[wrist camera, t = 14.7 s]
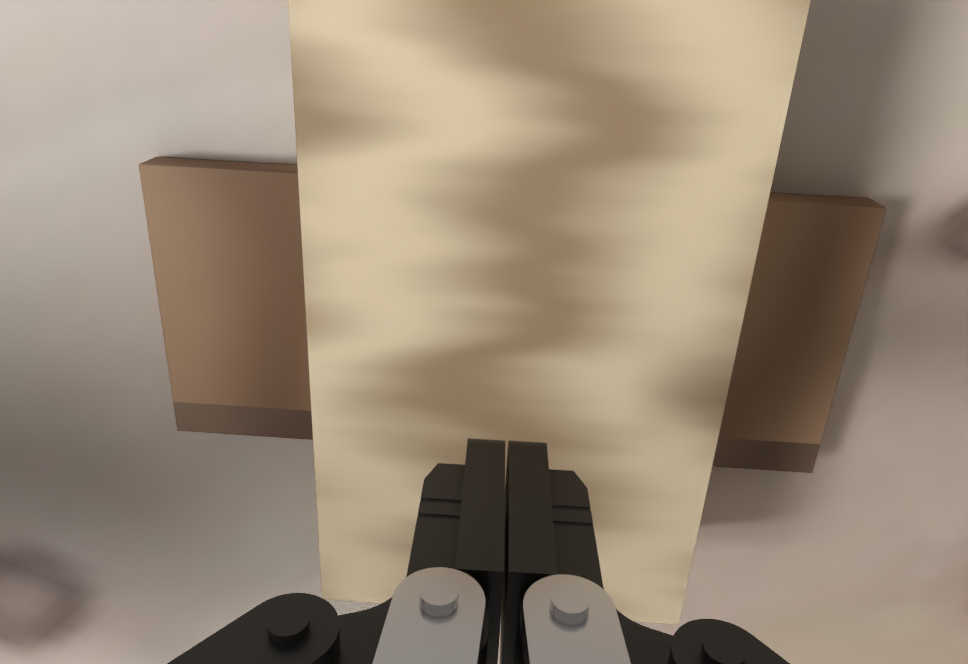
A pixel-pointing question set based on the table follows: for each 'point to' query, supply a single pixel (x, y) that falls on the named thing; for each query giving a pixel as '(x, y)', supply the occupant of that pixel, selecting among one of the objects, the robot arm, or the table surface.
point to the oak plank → (530, 256)
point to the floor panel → (283, 330)
